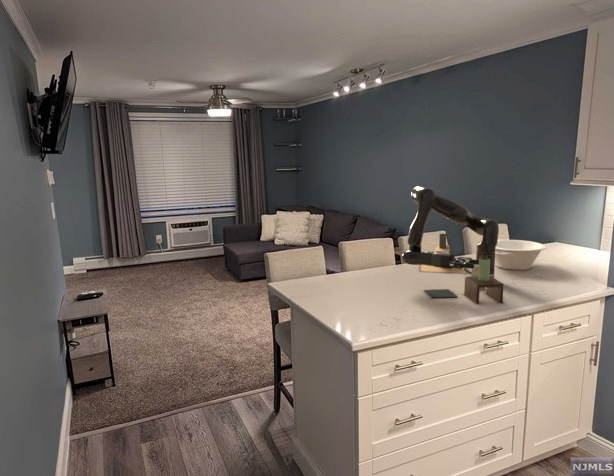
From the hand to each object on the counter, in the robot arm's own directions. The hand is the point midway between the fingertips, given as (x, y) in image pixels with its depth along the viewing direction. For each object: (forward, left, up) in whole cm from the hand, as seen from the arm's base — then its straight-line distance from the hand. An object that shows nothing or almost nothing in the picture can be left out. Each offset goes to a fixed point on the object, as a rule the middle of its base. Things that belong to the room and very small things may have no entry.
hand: (476, 264), depth 199 cm
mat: (-7, -14, -16) cm, 23 cm away
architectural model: (-66, +7, -16) cm, 68 cm away
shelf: (+2, +3, -16) cm, 16 cm away
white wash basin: (-55, +46, -16) cm, 73 cm away
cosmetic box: (-15, +8, -16) cm, 23 cm away
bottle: (+2, +3, -7) cm, 8 cm away
